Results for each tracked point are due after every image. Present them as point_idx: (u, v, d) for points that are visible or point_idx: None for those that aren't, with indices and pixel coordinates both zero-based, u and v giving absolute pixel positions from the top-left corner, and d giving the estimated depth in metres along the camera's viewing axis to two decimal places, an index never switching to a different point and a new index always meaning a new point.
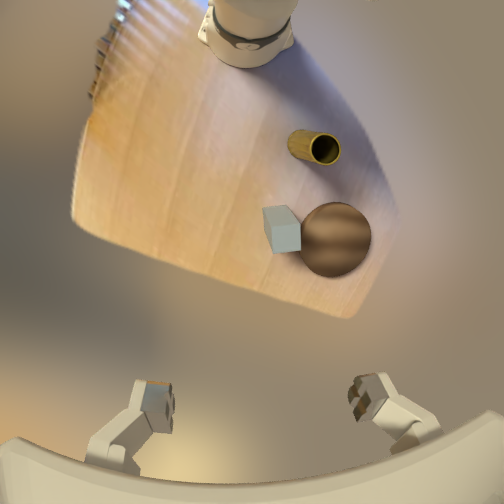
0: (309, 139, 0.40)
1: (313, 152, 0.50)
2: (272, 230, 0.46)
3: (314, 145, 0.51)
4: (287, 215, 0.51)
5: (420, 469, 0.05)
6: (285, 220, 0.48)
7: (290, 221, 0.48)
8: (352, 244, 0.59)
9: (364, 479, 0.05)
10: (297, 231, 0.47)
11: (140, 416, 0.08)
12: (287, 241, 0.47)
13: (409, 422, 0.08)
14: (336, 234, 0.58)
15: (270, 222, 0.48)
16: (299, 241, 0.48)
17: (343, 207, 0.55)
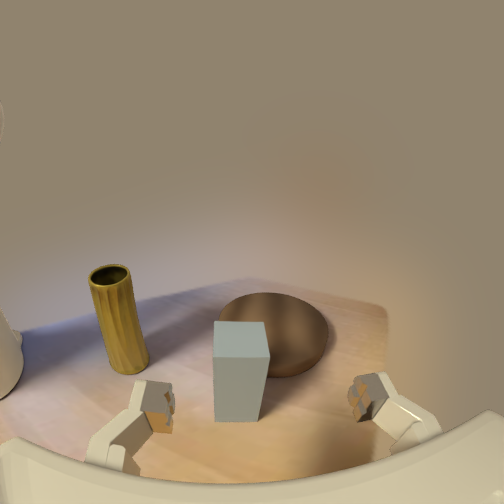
0: (93, 296, 0.27)
1: None
2: (220, 355, 0.23)
3: None
4: None
5: (420, 469, 0.05)
6: None
7: None
8: (276, 308, 0.45)
9: (364, 479, 0.05)
10: (227, 325, 0.26)
11: (140, 416, 0.08)
12: (246, 337, 0.25)
13: (409, 422, 0.08)
14: None
15: (213, 371, 0.23)
16: (246, 323, 0.27)
17: (221, 317, 0.41)
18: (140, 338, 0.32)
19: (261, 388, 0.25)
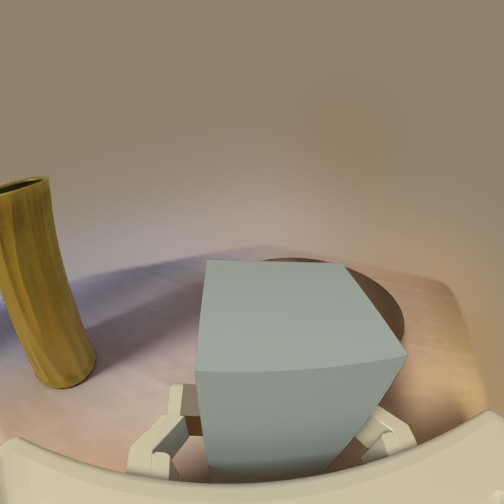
0: None
1: None
2: (227, 366, 0.05)
3: None
4: None
5: (420, 469, 0.05)
6: None
7: None
8: None
9: (364, 479, 0.05)
10: (246, 268, 0.09)
11: (181, 421, 0.08)
12: (311, 299, 0.08)
13: (380, 431, 0.08)
14: None
15: None
16: (300, 265, 0.10)
17: None
18: (70, 321, 0.15)
19: (342, 444, 0.07)
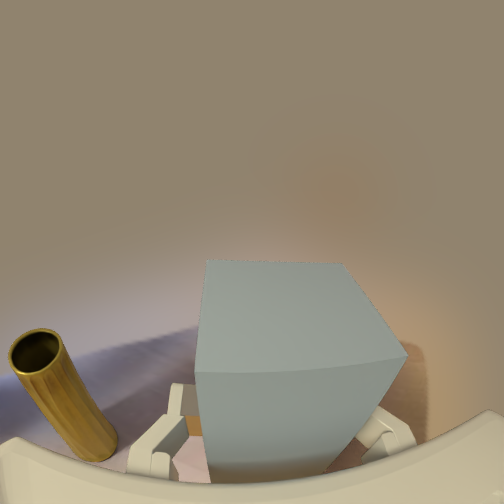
0: (19, 379, 0.13)
1: None
2: (226, 367, 0.05)
3: None
4: None
5: (420, 469, 0.05)
6: None
7: None
8: None
9: (364, 479, 0.05)
10: (246, 268, 0.09)
11: (181, 420, 0.08)
12: (311, 299, 0.08)
13: (380, 431, 0.08)
14: None
15: None
16: (300, 265, 0.10)
17: None
18: (98, 425, 0.18)
19: (342, 445, 0.07)
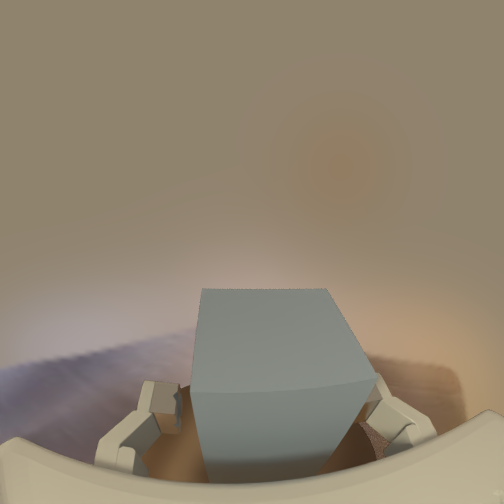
0: None
1: None
2: (216, 388, 0.06)
3: None
4: None
5: (420, 469, 0.05)
6: None
7: None
8: None
9: (364, 479, 0.05)
10: (237, 297, 0.10)
11: (149, 417, 0.08)
12: (294, 326, 0.09)
13: (402, 425, 0.08)
14: None
15: None
16: (287, 292, 0.11)
17: None
18: None
19: (327, 452, 0.08)
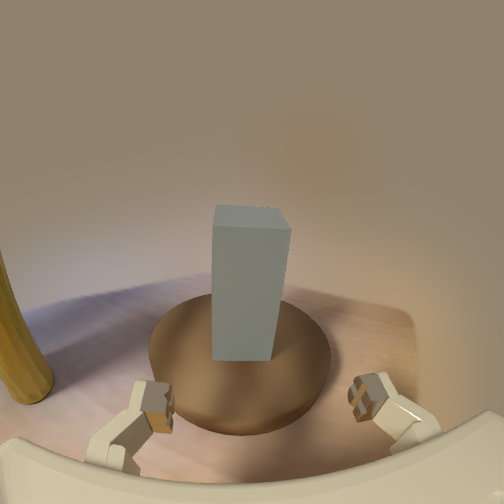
0: None
1: None
2: (223, 225, 0.17)
3: None
4: None
5: (420, 469, 0.05)
6: None
7: None
8: None
9: (364, 479, 0.05)
10: (232, 207, 0.21)
11: (140, 416, 0.08)
12: (257, 215, 0.20)
13: (409, 422, 0.08)
14: None
15: (212, 257, 0.18)
16: (257, 207, 0.22)
17: (157, 329, 0.25)
18: (27, 354, 0.16)
19: (278, 292, 0.20)
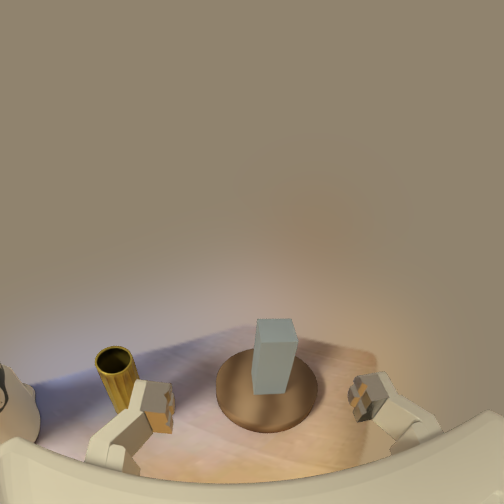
0: (102, 378, 0.28)
1: None
2: (266, 341, 0.35)
3: None
4: (255, 350, 0.40)
5: (420, 469, 0.05)
6: (257, 339, 0.38)
7: (257, 332, 0.38)
8: None
9: (364, 479, 0.05)
10: (267, 321, 0.38)
11: (140, 416, 0.08)
12: (281, 329, 0.37)
13: (409, 422, 0.08)
14: None
15: (259, 353, 0.35)
16: (280, 319, 0.39)
17: (218, 377, 0.42)
18: None
19: (290, 365, 0.37)
